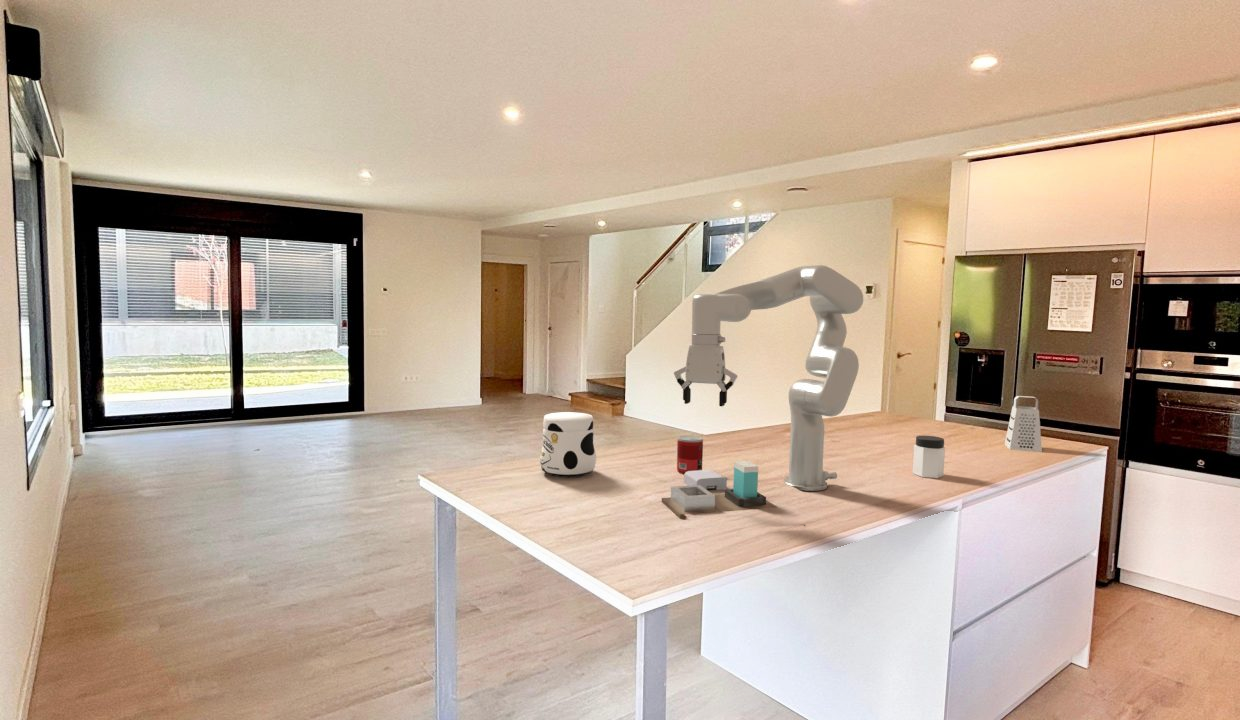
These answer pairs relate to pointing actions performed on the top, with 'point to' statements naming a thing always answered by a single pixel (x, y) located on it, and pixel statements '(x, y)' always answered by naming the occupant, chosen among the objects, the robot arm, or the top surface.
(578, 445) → the milk container
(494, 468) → the top surface
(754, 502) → the brown socket board
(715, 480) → the charger
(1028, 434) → the grater
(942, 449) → the jar
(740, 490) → the plug
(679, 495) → the frame
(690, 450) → the canned food
